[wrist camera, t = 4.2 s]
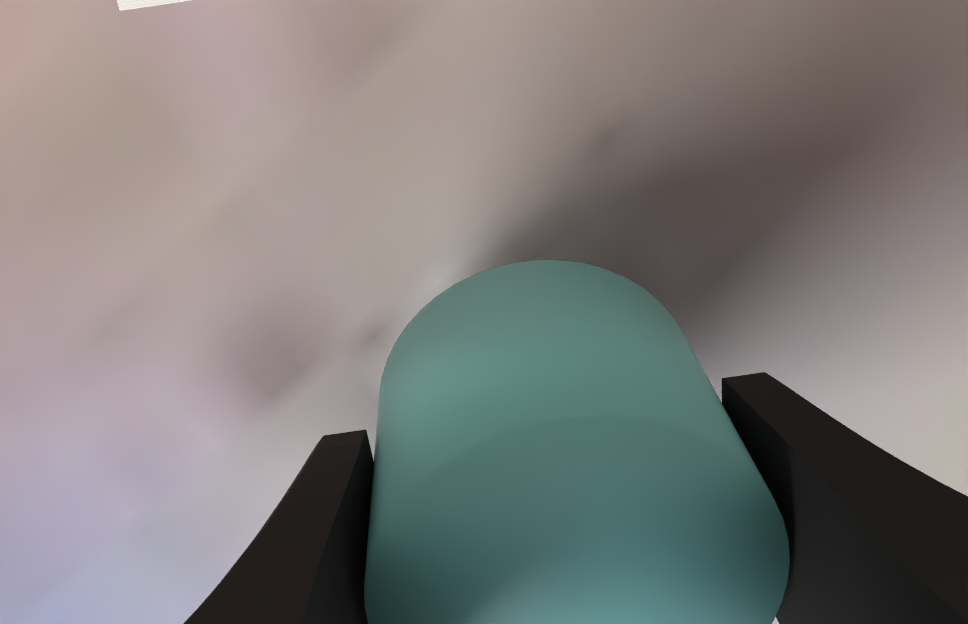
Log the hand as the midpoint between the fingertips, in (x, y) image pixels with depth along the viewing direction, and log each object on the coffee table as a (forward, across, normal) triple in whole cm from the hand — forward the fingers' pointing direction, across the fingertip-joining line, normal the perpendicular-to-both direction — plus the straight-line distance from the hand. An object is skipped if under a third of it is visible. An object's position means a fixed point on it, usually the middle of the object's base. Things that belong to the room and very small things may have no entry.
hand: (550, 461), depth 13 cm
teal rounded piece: (+2, 0, 0) cm, 2 cm away
